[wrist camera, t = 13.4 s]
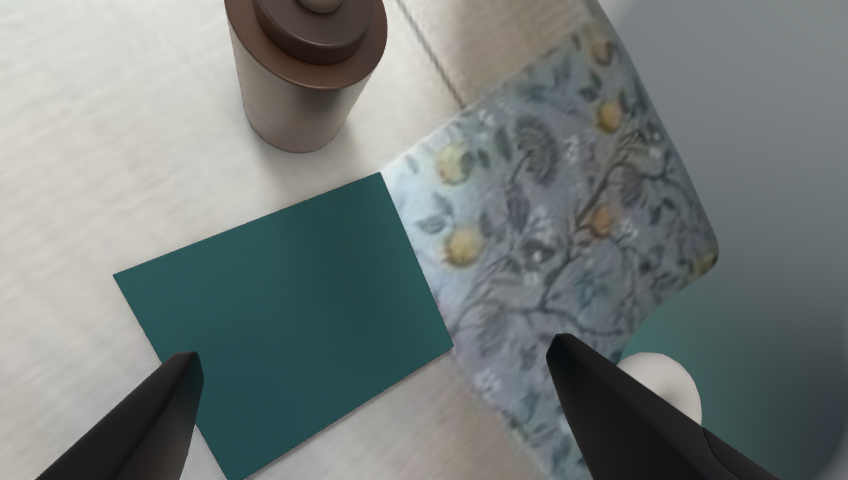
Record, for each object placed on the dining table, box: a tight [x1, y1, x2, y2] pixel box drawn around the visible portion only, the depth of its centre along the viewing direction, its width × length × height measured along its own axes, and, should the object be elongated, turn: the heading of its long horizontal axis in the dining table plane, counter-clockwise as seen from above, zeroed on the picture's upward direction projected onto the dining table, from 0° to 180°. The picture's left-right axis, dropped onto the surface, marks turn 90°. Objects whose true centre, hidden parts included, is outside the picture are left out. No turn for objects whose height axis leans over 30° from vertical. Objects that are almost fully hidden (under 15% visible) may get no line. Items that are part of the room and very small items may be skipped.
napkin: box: [113, 172, 454, 480], centre depth 20 cm, size 14×12×1 cm
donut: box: [616, 352, 702, 426], centre depth 29 cm, size 10×3×10 cm
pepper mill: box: [224, 0, 387, 153], centre depth 15 cm, size 5×5×11 cm
